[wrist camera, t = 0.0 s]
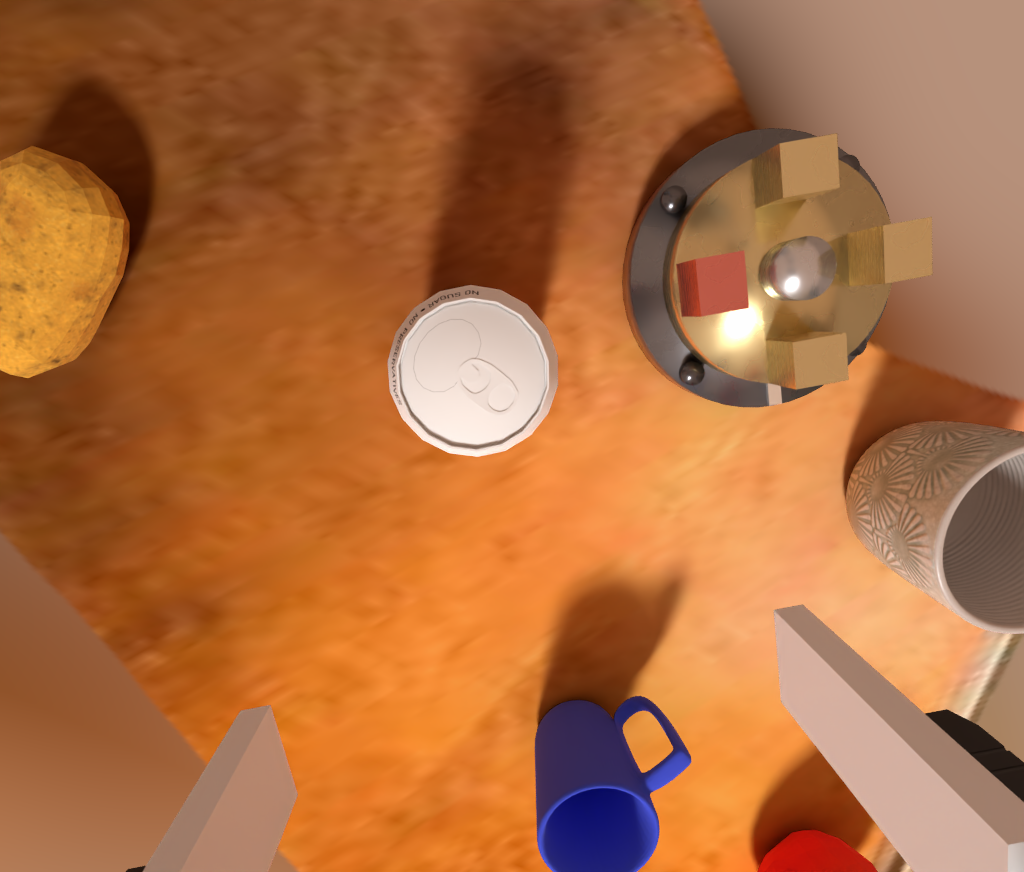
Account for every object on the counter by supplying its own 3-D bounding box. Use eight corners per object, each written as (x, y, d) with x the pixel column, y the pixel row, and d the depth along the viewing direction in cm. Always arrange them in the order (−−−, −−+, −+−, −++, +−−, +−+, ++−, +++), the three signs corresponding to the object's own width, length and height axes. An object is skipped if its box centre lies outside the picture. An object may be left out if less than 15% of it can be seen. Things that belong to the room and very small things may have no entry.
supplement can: (395, 365, 40) (346, 393, 26) (465, 271, 39) (457, 243, 24) (485, 433, 42) (488, 497, 27) (556, 344, 41) (599, 360, 26)
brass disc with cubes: (650, 181, 36) (681, 156, 30) (864, 143, 36) (933, 112, 31) (674, 396, 39) (707, 409, 33) (872, 359, 39) (937, 367, 34)
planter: (821, 425, 43) (934, 461, 32) (979, 395, 43) (1143, 421, 32) (830, 573, 46) (937, 652, 35) (979, 544, 46) (1131, 614, 35)
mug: (678, 704, 47) (730, 805, 38) (567, 788, 48) (589, 907, 39) (618, 638, 46) (656, 726, 36) (505, 727, 47) (512, 835, 37)
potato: (-16, 331, 38) (-120, 335, 32) (65, 145, 36) (-28, 106, 30) (94, 390, 39) (16, 405, 33) (179, 212, 37) (114, 190, 31)
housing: (606, 164, 38) (635, 128, 31) (865, 118, 38) (955, 72, 31) (639, 422, 42) (672, 444, 35) (874, 378, 42) (957, 391, 35)
